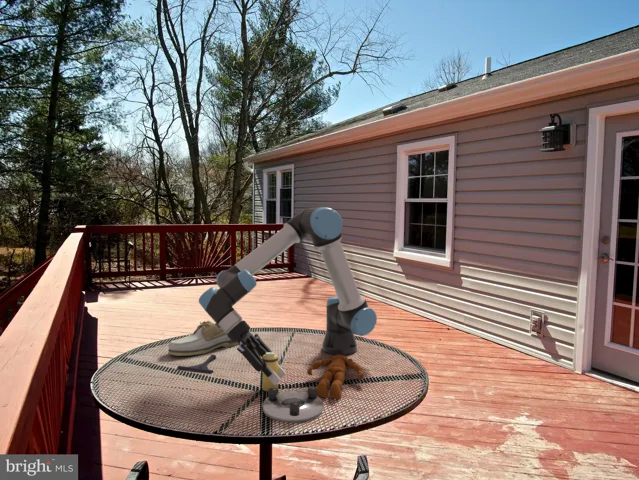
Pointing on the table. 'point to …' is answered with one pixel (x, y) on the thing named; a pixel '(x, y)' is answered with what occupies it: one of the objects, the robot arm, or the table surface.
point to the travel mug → (272, 361)
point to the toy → (334, 374)
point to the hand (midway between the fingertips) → (280, 379)
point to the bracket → (200, 366)
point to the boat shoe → (201, 340)
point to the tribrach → (293, 405)
